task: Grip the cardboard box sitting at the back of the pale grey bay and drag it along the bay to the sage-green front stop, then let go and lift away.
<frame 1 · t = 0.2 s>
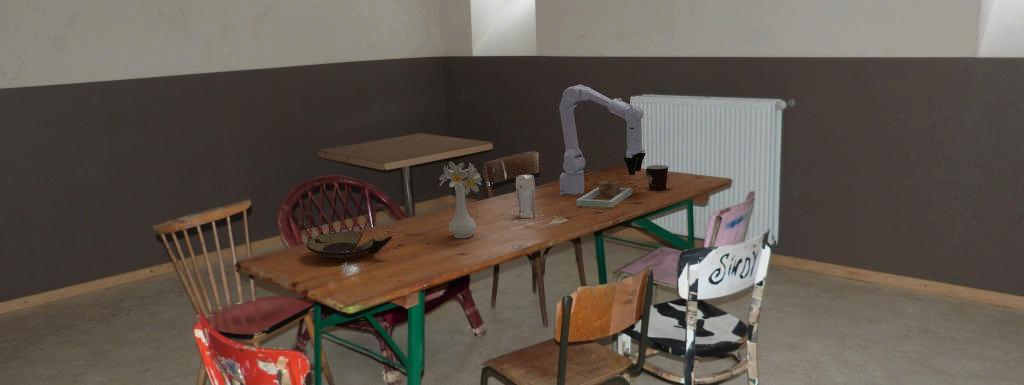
hand: (634, 173, 330), 10 cm above the table, tool pointing down, fingers open, 7 cm apart
flower vase: (465, 236, 288), on the table
beer glass: (526, 216, 311), on the table
coffee mug: (657, 191, 343), on the table
bay: (605, 201, 328), on the table
cardboard box: (609, 189, 332), point 4 cm above the table, slide at 0.0 cm
oil lamp: (348, 257, 270), on the table
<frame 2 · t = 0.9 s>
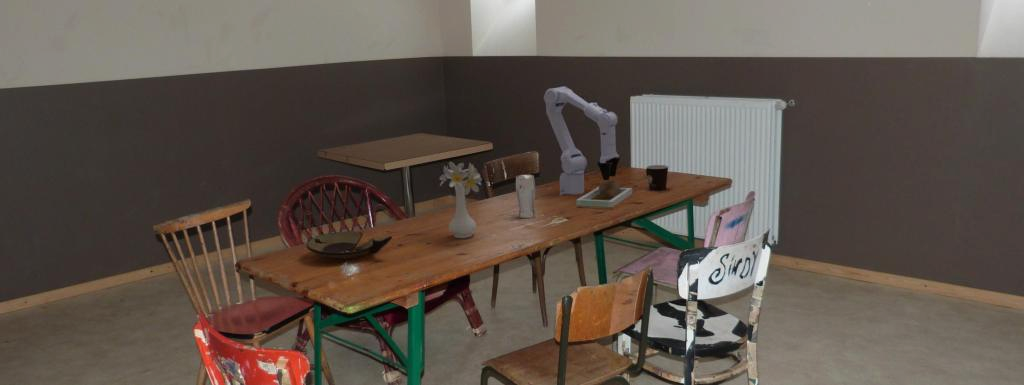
hand: (609, 178, 331), 8 cm above the table, tool pointing down, fingers open, 7 cm apart
nothing on the table moved.
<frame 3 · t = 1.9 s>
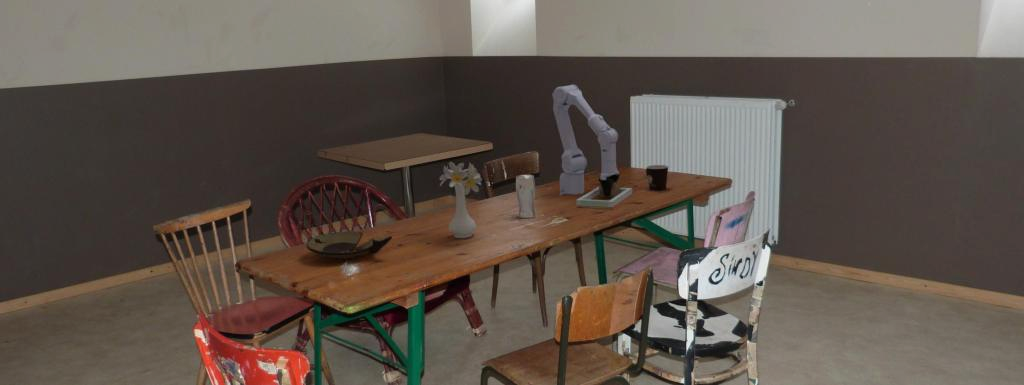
hand: (609, 194, 333), 2 cm above the table, tool pointing down, fingers closed on cardboard box, 5 cm apart
cardboard box: (609, 189, 332), point 4 cm above the table, slide at 0.0 cm, touching gripper
everything else where it was.
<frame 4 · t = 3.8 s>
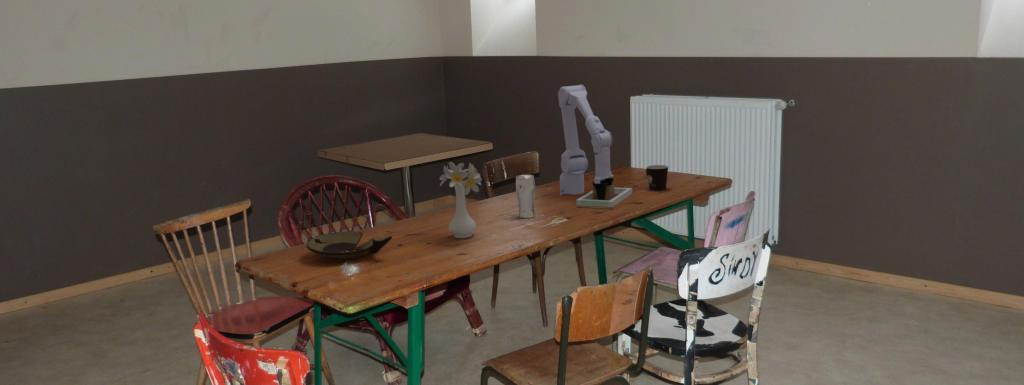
hand: (603, 198, 327), 2 cm above the table, tool pointing down, fingers closed on cardboard box, 5 cm apart
cardboard box: (603, 193, 326), point 4 cm above the table, slide at 7.1 cm, touching gripper
everything else where it was.
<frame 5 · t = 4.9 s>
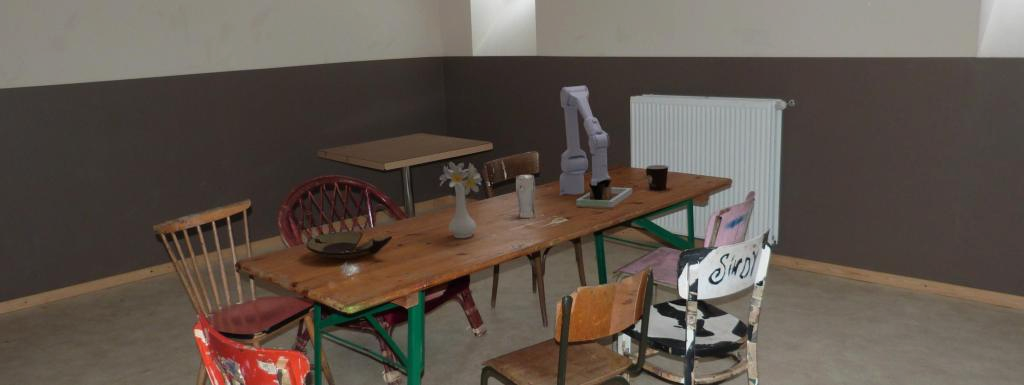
hand: (600, 200, 324), 2 cm above the table, tool pointing down, fingers closed on cardboard box, 5 cm apart
cardboard box: (600, 195, 323), point 4 cm above the table, slide at 10.5 cm, touching gripper
everything else where it was.
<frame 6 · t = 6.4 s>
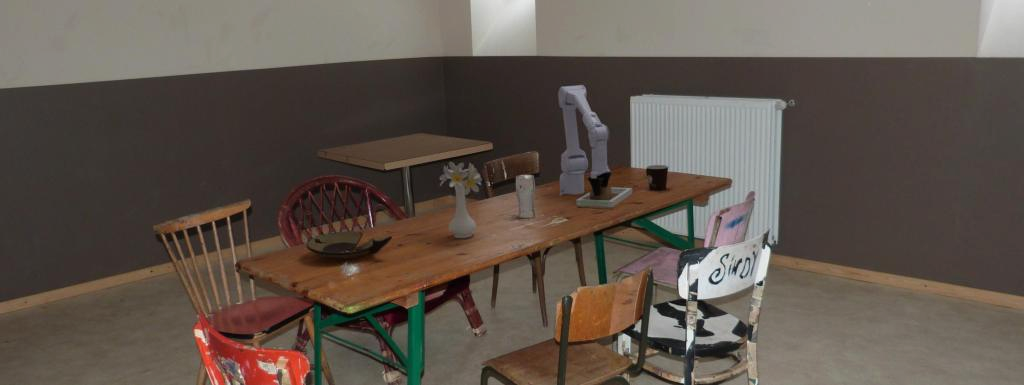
hand: (600, 193, 323), 4 cm above the table, tool pointing down, fingers open, 7 cm apart
cardboard box: (600, 195, 323), point 4 cm above the table, slide at 10.5 cm
everything else where it was.
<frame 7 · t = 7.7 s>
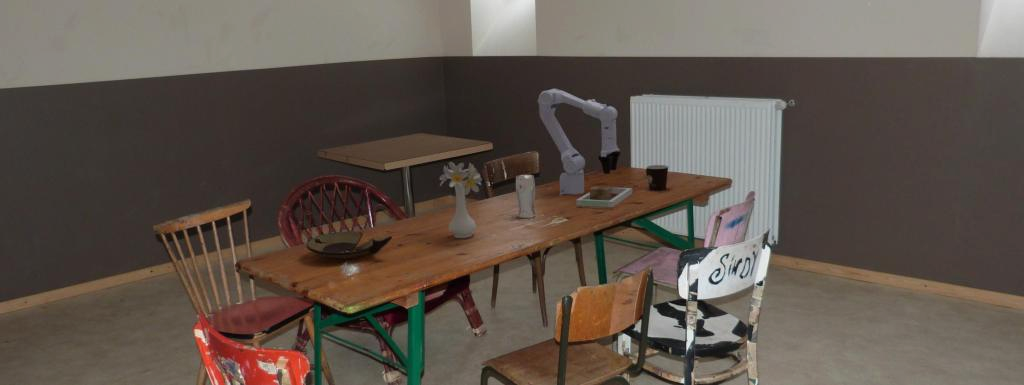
hand: (610, 171, 335), 10 cm above the table, tool pointing down, fingers open, 7 cm apart
nothing on the table moved.
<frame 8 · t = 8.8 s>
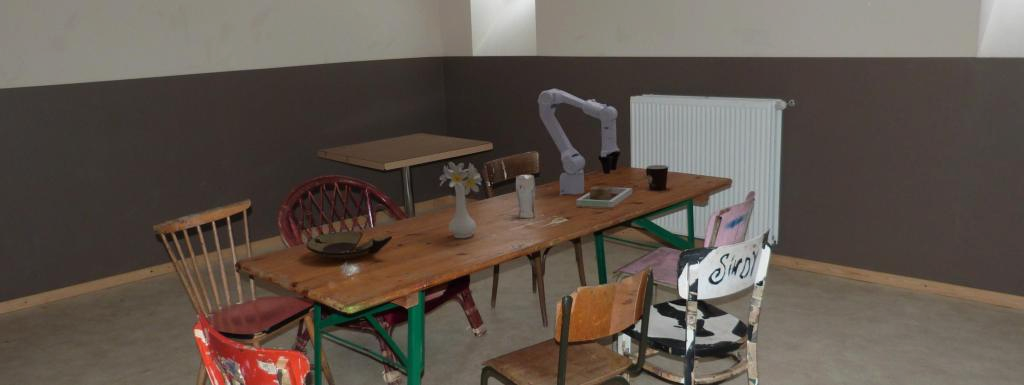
hand: (610, 171, 335), 10 cm above the table, tool pointing down, fingers open, 7 cm apart
nothing on the table moved.
at the end: cardboard box slide at 10.5 cm; the gripper is holding nothing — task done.
